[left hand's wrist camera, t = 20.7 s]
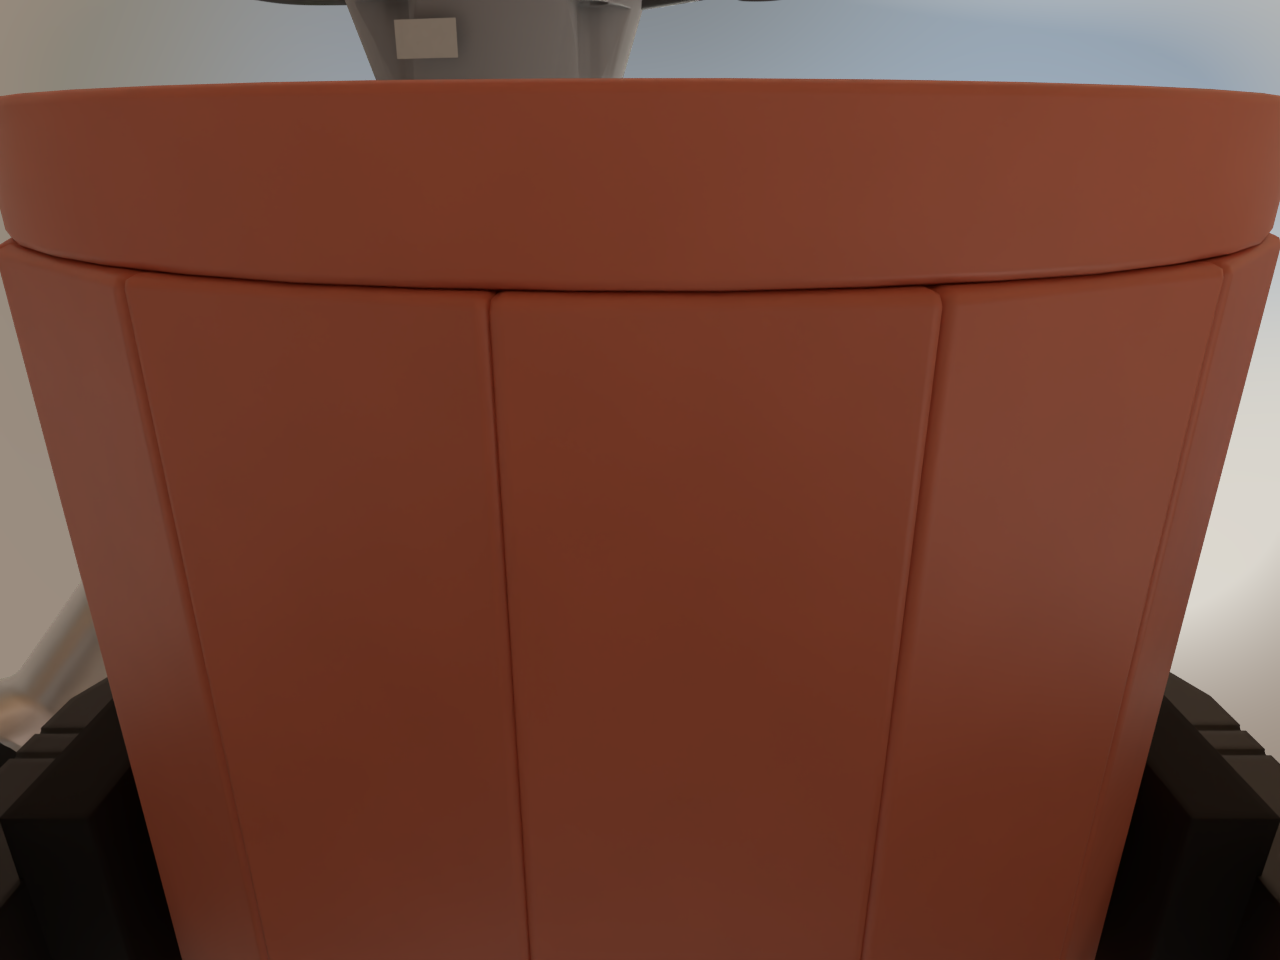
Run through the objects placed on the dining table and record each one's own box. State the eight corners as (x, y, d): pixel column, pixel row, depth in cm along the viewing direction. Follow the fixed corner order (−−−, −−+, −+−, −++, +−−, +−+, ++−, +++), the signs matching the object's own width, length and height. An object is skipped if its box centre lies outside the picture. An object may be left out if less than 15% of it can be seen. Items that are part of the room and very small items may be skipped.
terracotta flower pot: (1895, 83, 3) (1212, 1506, 8) (950, 123, 12) (871, 776, 16) (-686, 69, 3) (99, 1627, 7) (262, 122, 11) (362, 802, 16)
